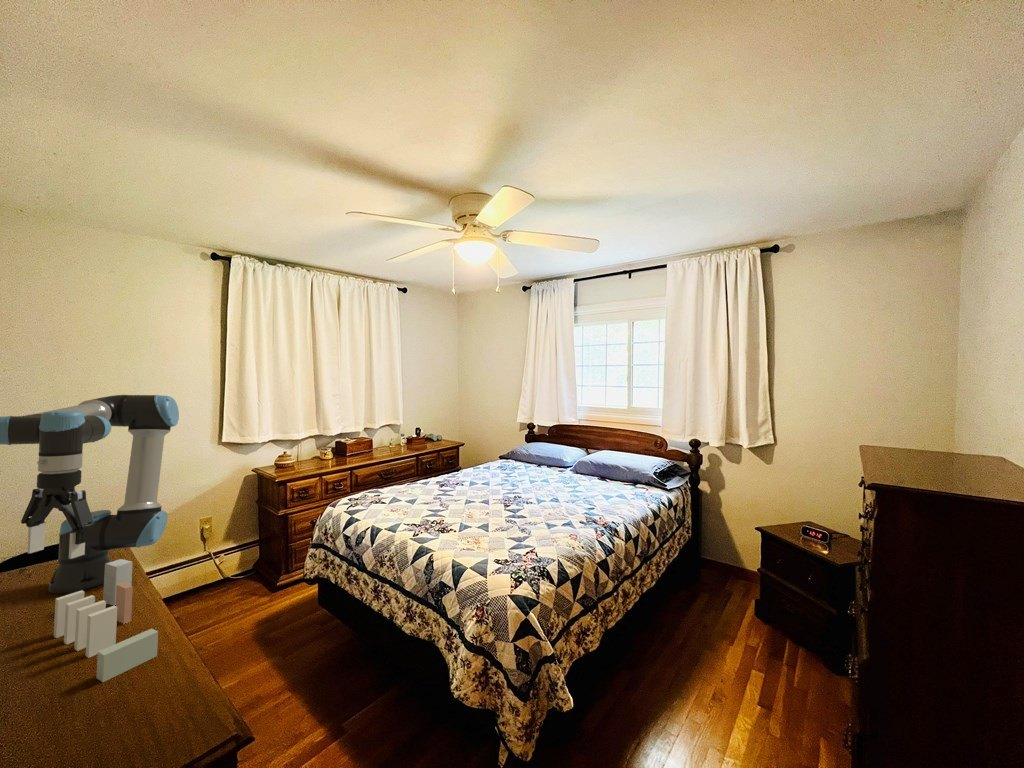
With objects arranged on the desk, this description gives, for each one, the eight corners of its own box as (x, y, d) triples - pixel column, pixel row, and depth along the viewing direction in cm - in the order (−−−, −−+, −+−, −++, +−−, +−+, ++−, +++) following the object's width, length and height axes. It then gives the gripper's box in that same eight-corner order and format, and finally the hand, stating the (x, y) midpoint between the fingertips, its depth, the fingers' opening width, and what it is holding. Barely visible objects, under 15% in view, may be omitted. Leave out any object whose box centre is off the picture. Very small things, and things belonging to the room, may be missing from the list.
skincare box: (131, 599, 124) (133, 561, 124) (114, 606, 120) (116, 566, 120) (119, 596, 126) (121, 558, 126) (102, 602, 122) (104, 563, 122)
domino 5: (123, 624, 111) (125, 588, 111) (114, 620, 113) (116, 584, 113) (131, 621, 112) (132, 586, 113) (122, 617, 114) (123, 582, 115)
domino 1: (53, 636, 105) (55, 598, 105) (79, 626, 109) (81, 590, 110) (56, 638, 104) (58, 600, 105) (82, 628, 109) (84, 591, 109)
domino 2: (63, 642, 102) (65, 603, 103) (90, 632, 107) (92, 595, 107) (66, 644, 102) (68, 605, 102) (93, 633, 106) (95, 596, 107)
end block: (96, 678, 90) (97, 651, 90) (150, 652, 99) (151, 628, 100) (102, 682, 89) (104, 655, 89) (157, 656, 98) (158, 631, 98)
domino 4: (85, 656, 98) (87, 615, 98) (112, 644, 102) (114, 605, 102) (88, 657, 97) (90, 616, 97) (115, 646, 102) (117, 607, 102)
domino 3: (74, 649, 100) (76, 609, 100) (101, 638, 105) (103, 600, 105) (77, 651, 99) (79, 610, 100) (104, 639, 104) (106, 601, 104)
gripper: (2, 470, 100) (-2, 554, 100) (79, 477, 95) (75, 565, 95) (42, 465, 107) (38, 543, 107) (115, 471, 103) (112, 552, 102)
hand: (55, 554), depth 101 cm, fingers open, 13 cm apart
